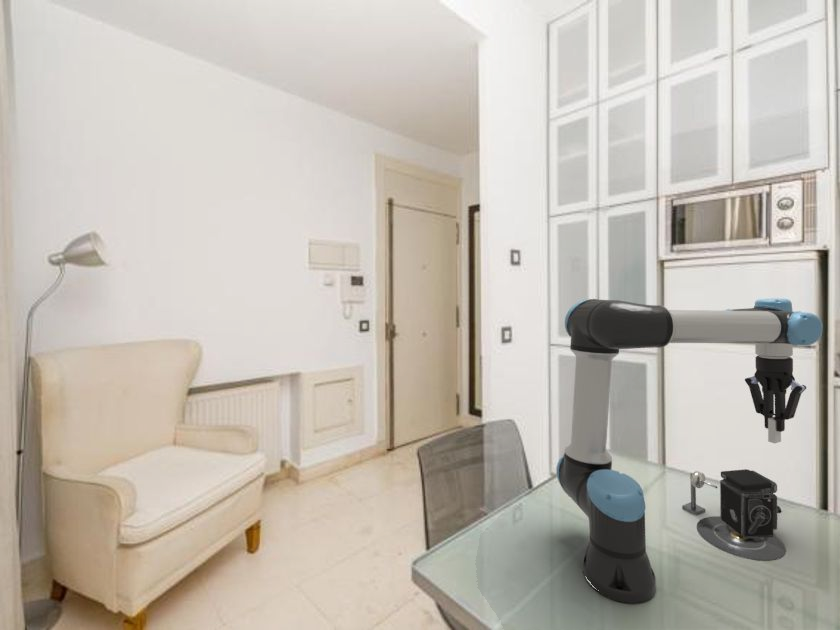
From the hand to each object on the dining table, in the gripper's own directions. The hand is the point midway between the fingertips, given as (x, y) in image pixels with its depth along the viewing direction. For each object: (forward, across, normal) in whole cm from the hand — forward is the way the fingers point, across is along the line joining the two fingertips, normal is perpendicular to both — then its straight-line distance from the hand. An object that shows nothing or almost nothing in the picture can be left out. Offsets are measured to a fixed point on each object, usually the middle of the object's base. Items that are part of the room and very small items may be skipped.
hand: (774, 441), depth 108 cm
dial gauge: (+22, +11, +14) cm, 28 cm away
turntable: (+22, 0, +16) cm, 28 cm away
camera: (+22, 0, +11) cm, 25 cm away
